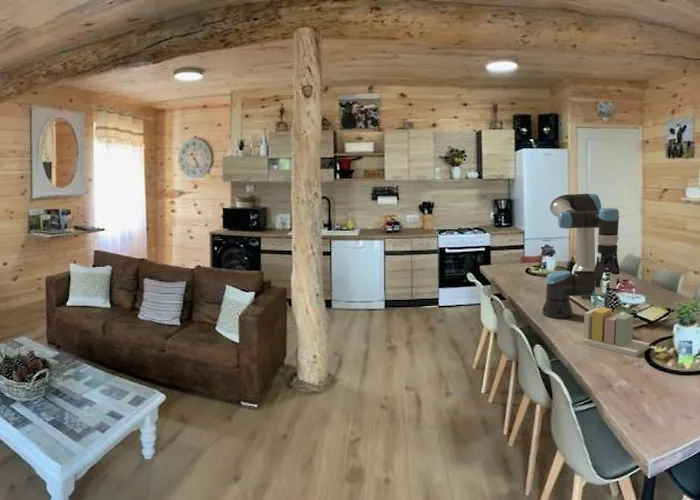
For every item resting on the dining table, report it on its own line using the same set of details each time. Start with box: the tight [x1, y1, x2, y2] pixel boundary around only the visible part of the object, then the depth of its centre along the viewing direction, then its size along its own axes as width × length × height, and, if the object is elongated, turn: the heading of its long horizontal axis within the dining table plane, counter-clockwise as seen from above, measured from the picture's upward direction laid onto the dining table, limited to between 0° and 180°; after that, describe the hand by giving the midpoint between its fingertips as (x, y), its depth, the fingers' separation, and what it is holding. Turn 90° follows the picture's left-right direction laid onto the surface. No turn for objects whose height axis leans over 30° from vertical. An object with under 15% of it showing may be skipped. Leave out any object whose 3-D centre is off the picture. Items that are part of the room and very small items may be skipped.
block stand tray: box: [582, 307, 650, 358], centre depth 208 cm, size 22×14×14 cm, turn 38°
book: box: [591, 306, 613, 342], centre depth 212 cm, size 4×9×13 cm, turn 128°
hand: (605, 291), depth 210 cm, fingers open, 13 cm apart
